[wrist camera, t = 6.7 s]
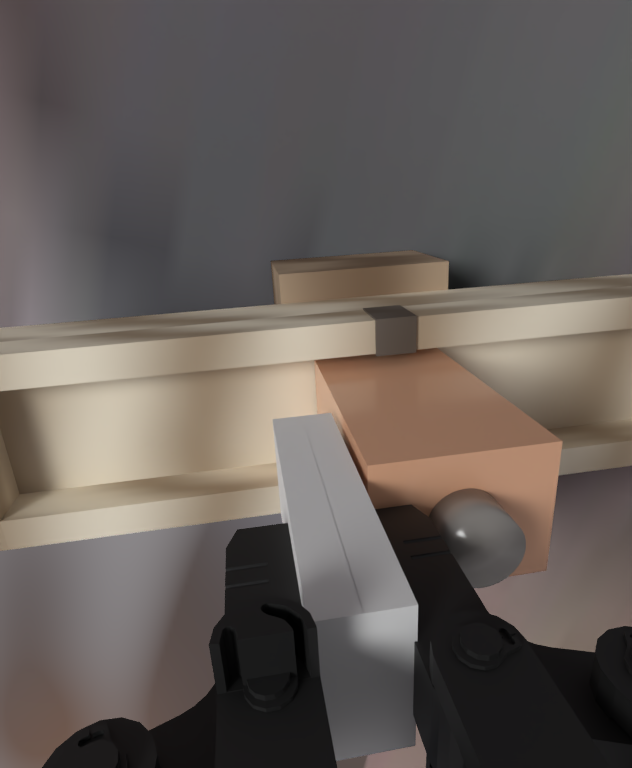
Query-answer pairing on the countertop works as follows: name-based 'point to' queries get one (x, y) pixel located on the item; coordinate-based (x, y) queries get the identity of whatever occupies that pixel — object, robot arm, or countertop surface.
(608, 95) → the countertop surface
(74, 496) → the beam
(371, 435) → the block
